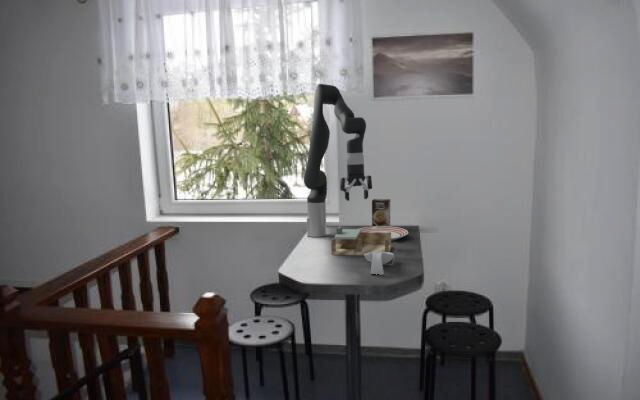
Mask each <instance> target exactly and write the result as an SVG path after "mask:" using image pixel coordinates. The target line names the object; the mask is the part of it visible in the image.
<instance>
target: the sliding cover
mask: <svg viewBox="0 0 640 400" xmlns="http://www.w3.org/2000/svg"><path fill="white" fill-rule="evenodd" d="M360 232H361V229H359V228H357V229H355V228H353V229H346V228H345V229H344V228H343V226H342V225H338V226H337V227H336V234H335V235H334V238H335V240H337V239H356V238H357V237H358V235H359V234H360Z"/></svg>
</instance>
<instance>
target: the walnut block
mask: <svg viewBox="0 0 640 400" xmlns="http://www.w3.org/2000/svg"><path fill="white" fill-rule="evenodd" d="M342 249H355V239H342Z"/></svg>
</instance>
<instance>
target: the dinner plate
mask: <svg viewBox="0 0 640 400" xmlns="http://www.w3.org/2000/svg"><path fill="white" fill-rule="evenodd" d="M358 229H361V232H391V242H392V241H396V240H399V239H401V238H404V237H406V236H408V234H409V231H408V230H407V229H406V228H405V229H404V228H401V227H398V226H391V225H390V226H374V227H372V226H366V227H360V228H359V227H358Z"/></svg>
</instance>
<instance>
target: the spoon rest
mask: <svg viewBox="0 0 640 400" xmlns="http://www.w3.org/2000/svg"><path fill="white" fill-rule="evenodd" d="M394 255H395V254H394V253H393V252H391V251H390V252H369V253H365V254H364V255H363V256H364V258H365V259H366V260H367V262H369V263H370V264H371V266H370V267H371V268H370V275H371V274H376V275H375V276H383V274H385V273H384V265H382V264H385V265H388V263H390V262H391V261H392V260H393V259H394ZM377 274H379V275H377Z"/></svg>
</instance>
